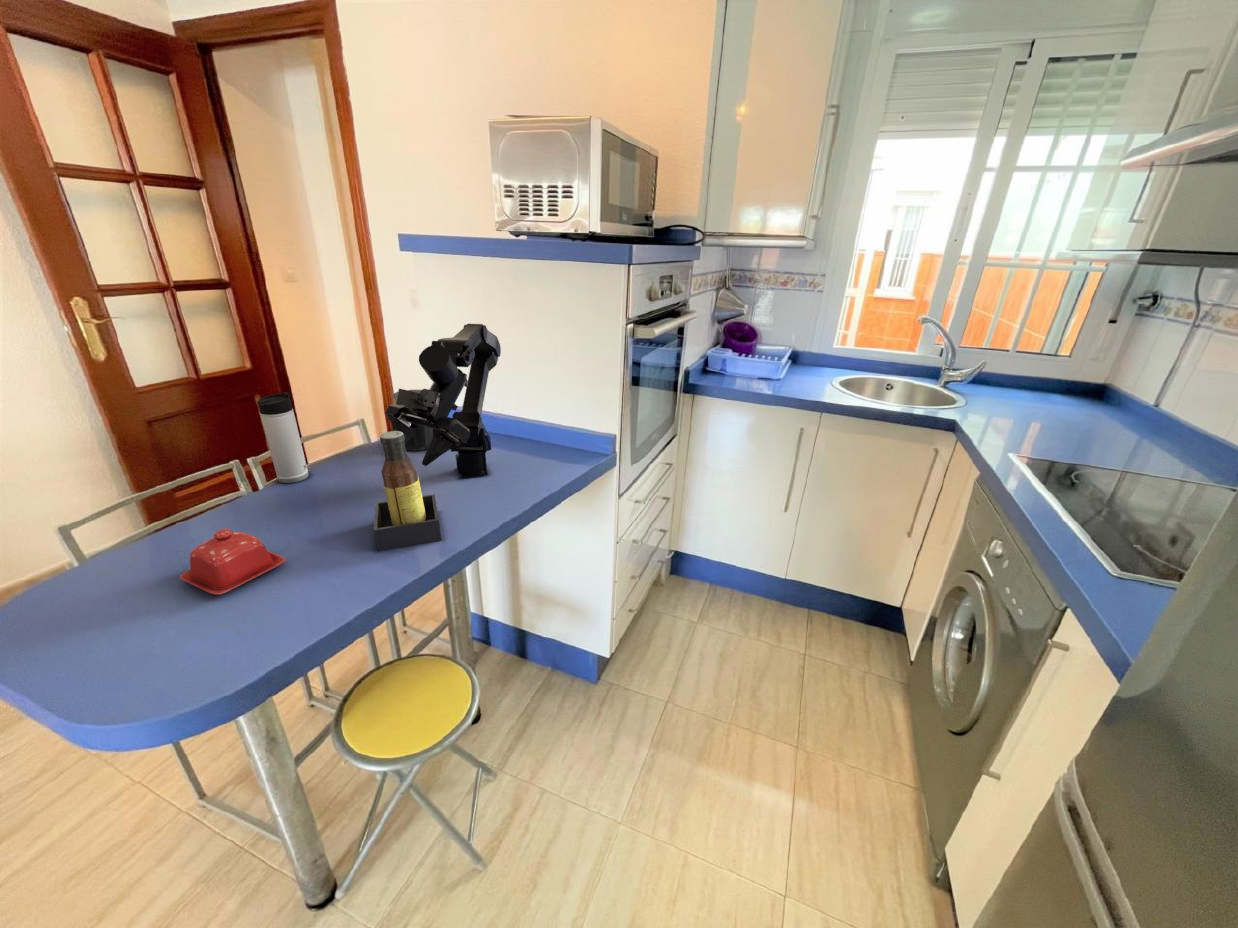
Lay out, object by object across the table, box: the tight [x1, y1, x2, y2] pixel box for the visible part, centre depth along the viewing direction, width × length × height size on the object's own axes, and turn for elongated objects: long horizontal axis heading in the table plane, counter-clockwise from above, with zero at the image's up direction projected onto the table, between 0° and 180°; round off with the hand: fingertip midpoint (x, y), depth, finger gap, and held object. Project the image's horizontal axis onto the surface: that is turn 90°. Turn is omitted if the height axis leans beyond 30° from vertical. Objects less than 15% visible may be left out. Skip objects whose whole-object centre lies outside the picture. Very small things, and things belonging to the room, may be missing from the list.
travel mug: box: [257, 392, 310, 484], centre depth 115 cm, size 6×7×20 cm
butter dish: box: [179, 528, 287, 596], centre depth 83 cm, size 12×12×8 cm
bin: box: [373, 493, 442, 552], centre depth 98 cm, size 11×11×4 cm
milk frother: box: [391, 389, 433, 451], centre depth 137 cm, size 14×16×15 cm
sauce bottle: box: [379, 430, 426, 526], centre depth 95 cm, size 6×6×20 cm
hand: (407, 460), depth 100 cm, fingers open, 9 cm apart
